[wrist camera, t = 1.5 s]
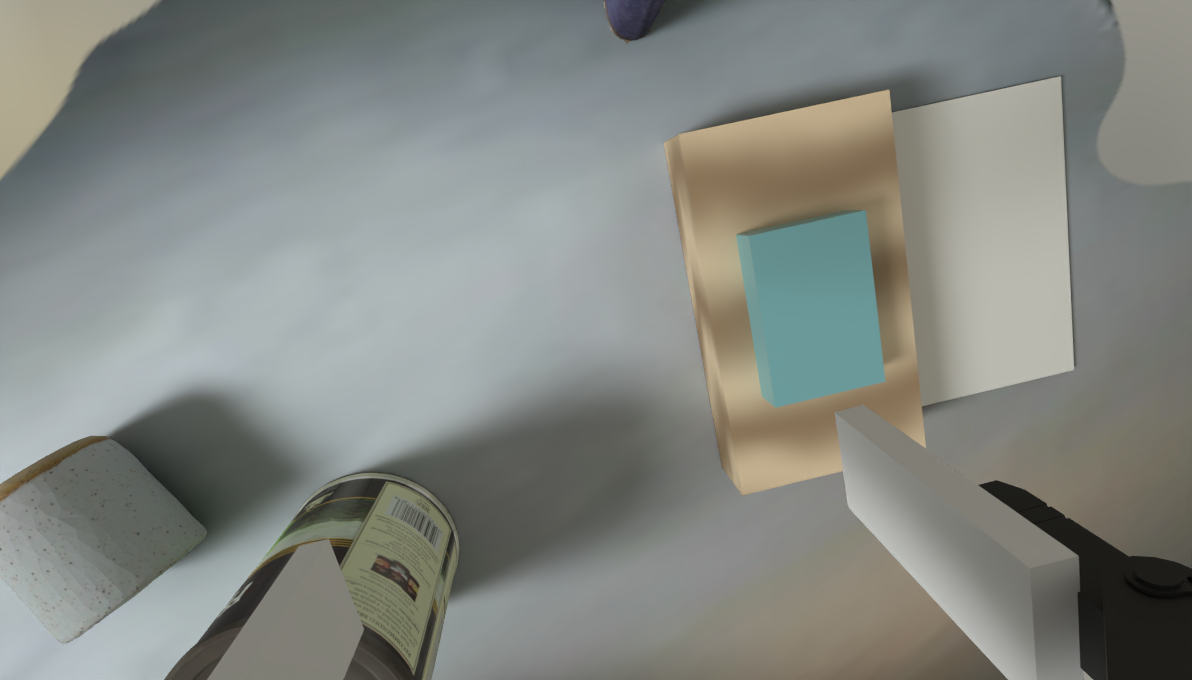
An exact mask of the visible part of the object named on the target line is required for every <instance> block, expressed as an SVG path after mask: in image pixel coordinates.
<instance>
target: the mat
mask: <svg viewBox="0 0 1192 680" xmlns="http://www.w3.org/2000/svg"><path fill="white" fill-rule="evenodd" d="M892 121H893V131H894V140H895V150H896V160H897V170H898V180H899V189H900V199H901V209H902V219H903V229H904V238H905V248H906V258H907V268H908V277H909V287H910V297H911V307H912V317H913V326H914V336H915V346H916V356H917V366H918V375H919V385H920V395H921V405H922V406H926V405H930V404H934V403H938V402H942V401H946V400H951V399H955V398H959V397H963V396H967V395H971V394H976V393H980V392H984V391H988V390H992V389H996V388H1001V387H1005V386H1009V385H1013V384H1017V383H1021V382H1026V381H1030V380H1034V379H1038V378H1042V377H1046V376H1051V375H1055V374H1059V373H1063V372H1067V371H1071V370H1074V355H1073V333H1072V311H1071V289H1070V267H1069V245H1068V223H1067V201H1066V179H1065V157H1064V135H1063V114H1062V92H1061V76H1060V77H1055V78H1050V79H1046V80H1041V81H1036V82H1032V83H1027V84H1022V85H1018V86H1013V87H1009V88H1004V89H999V90H995V91H990V92H985V93H981V94H976V95H971V96H967V97H962V98H957V99H953V100H948V101H943V102H939V103H934V104H929V105H925V106H920V107H915V108H911V109H906V110H901V111H897V112H892Z"/></svg>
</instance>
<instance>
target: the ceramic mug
mask: <svg viewBox="0 0 1192 680" xmlns="http://www.w3.org/2000/svg"><path fill="white" fill-rule="evenodd" d="M206 536H207V531H206V529H205V528H204V526H203V525H202V524H200V523H199V522H198V521H197V520H196V519H195V518H194V517H193V516H192V515H191V514H190V513H189V512H188V511H187V510H186V508H185V507H184V506H183V505H182V504H181V503H180V502H179V501H178V500H177V499H176V498H175V497H174V496H173V495H172V494H171V493H170V492H169V491H168V490H167V489H166V488H165V487H164V486H163V485H162V484H161V483H160V482H158V481H157V480H156V479H155V477H154V476H153V475H152V474H151V473H150V472H149V471H148V470H147V469H146V468H145V467H144V466H143V465H142V463H141V462H140V461H139V460H138V459H137V458H136V457H135V456H134V455H133V454H132V453H131V452H130V451H128V450H127V449H125V448H124V447H123V446H121V445H120V444H119V443H117V442H116V441H114V440H112V439H111V438H109V437H106V436H89V437H86V438H83V439H80V440H78V441H75V442H73V443H71V444H69V445H67V446H65V447H63V448H61V449H59V450H57V451H55V452H53V453H52V454H50V455H48V456H46V457H44V458H42V459H41V460H39V461H37V462H36V463H34V464H32V465H30V466H29V467H27V468H25V469H24V470H22V471H20V472H19V473H17V474H15V475H14V476H12V477H11V478H9V479H8V480H6V481H4V482H3V483H2V484H0V578H1V579H2V580H3V581H4V582H5V583H6V584H7V585H8V586H9V587H10V588H11V589H12V591H13V592H14V593H15V594H16V595H17V596H18V597H19V599H20V600H21V601H22V602H23V603H24V604H25V605H26V606H27V608H28V609H29V610H30V611H31V612H32V613H33V614H34V615H35V616H36V618H37V619H38V620H39V621H40V622H41V623H42V624H43V626H44V627H45V628H46V629H47V630H48V631H49V632H50V634H51V635H52V636H53V637H54V638H56V639H57V640H58V641H59V642H61V643H63V644H64V643H69V642H70V641H73V640H74V639H76V638H77V637H79V636H81V635H82V634H83V633H85V632H86V631H87V630H89V629H90V628H92V627H93V626H94V625H95V624H97V623H99V622H100V621H101V620H102V619H104V618H105V617H106V616H108V615H109V614H111V613H112V612H113V611H115V610H116V609H118V608H119V607H120V606H122V605H123V604H124V603H126V602H127V601H129V600H130V599H131V598H133V597H134V596H135V595H137V594H138V593H139V592H140V591H142V590H143V589H144V588H145V587H146V586H148V585H149V584H150V583H151V582H152V581H153V580H155V579H156V578H157V577H159V576H160V575H162V574H163V573H164V572H165V571H166V570H168V569H169V568H170V567H171V566H172V565H174V564H175V563H176V562H177V561H178V560H179V559H181V558H182V557H183V556H184V555H186V554H187V553H188V552H189V551H190V550H191V549H193V548H194V547H195V546H196V545H197V544H198V543H200V541H202V540H203V539H204V538H205V537H206Z"/></svg>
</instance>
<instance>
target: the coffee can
mask: <svg viewBox="0 0 1192 680" xmlns="http://www.w3.org/2000/svg"><path fill="white" fill-rule="evenodd" d="M326 539H329V541H330V544H331V546H332V549H333V551H334V554H335V556H336V559H337V561H338V564H339V567H340V569H341V572H342V574H343V577H344V579H345V582H346V584H347V587H348V589H349V592H350V595H351V597H352V600H353V602H354V605H355V607H356V610H357V612H358V615H359V617H360V620H361V623H362V625H363V628H364V631H363V633H362V636H361V638H360V641H359V643H358V646H357V648H356V650H355V653H354V655H353V658H352V660H351V662H350V665H349V667H348V670H347V672H346V675H345V677H344V679H343V680H431V679H432V674H433V670H434V665H435V660H436V656H437V651H438V647H439V642H440V638H441V633H442V629H443V623H444V619H445V614H446V609H447V604H448V600H449V595H450V591H451V586H452V581H453V577H454V575H455V572H456V570H457V567H458V559H459V539H458V534H457V530H456V527H455V525H454V522H453V520H452V518H451V516H450V514H449V513H448V511H447V509H446V508H445V507H444V506H443V505H442V503H441V502H440V501H439V500H438V499H437V498H436V497H435V496H434V495H433V494H431V493H430V492H429V491H428V490H426V489H425V488H423V487H422V486H420V485H418V484H416V483H414V482H412V481H410V480H407V479H405V478H402V477H398V476H395V475H391V474H381V473H361V474H355V475H350V476H346V477H343V478H340V479H337V480H335V481H333V482H331V483H329V484H327V485H325V486H323V487H322V488H320V489H319V490H318V491H316V492H315V493H314V494H313V495H311V496H310V497H309V498H308V499H307V501H306V502H305V503H304V504H303V505H302V507H301V508H300V509H299V511H298V512H297V514H296V516H295V518H294V519H293V520H292V522H291V523H290V524H289V526H288V527H287V528H286V530H285V531H284V532H283V534H282V535H281V536H280V537H279V539H278V540H277V541H276V543H275V544H274V545H273V547H272V548H271V549H270V551H269V552H268V553H267V554H266V556H265V557H264V558H263V560H262V561H261V562H260V563H259V565H258V566H257V567H256V568H255V570H254V571H253V572H252V573H251V575H250V576H249V577H248V579H247V580H246V581H245V583H244V584H243V585H242V586H241V588H240V589H239V590H238V591H237V592H236V594H235V595H234V596H233V598H232V599H231V600H230V601H229V603H228V604H227V605H226V607H225V608H224V609H223V610H222V612H221V613H220V614H219V615H218V617H217V618H216V619H215V620H214V622H213V623H212V624H211V626H210V627H209V628H208V630H207V631H206V632H205V634H204V635H203V636H202V637H201V639H200V640H199V641H198V643H197V644H196V645H195V646H193V647H192V648H191V649H190V650H189V651H188V652H187V653H186V654H185V655H184V656H183V657H182V658H181V659H180V660H179V661H178V662H177V664H176V665H175V666H174V667H173V669H172V670H171V671H170V672H169V674H168V675H167V676H166V678H165V679H164V680H207V679H208V677H209V676H210V675H211V673H212V672H213V670H214V669H215V667H216V666H217V664H218V663H219V661H220V660H221V659H222V657H223V656H224V654H225V653H226V651H227V650H228V648H229V647H230V645H231V644H232V643H233V641H234V640H235V638H236V637H237V635H238V634H239V632H240V631H241V630H242V628H243V627H244V625H245V624H246V622H247V621H248V619H249V618H250V616H251V615H252V614H253V612H254V611H255V609H256V608H257V606H258V605H259V603H260V602H261V600H262V599H263V598H264V596H265V595H266V593H267V592H268V590H269V589H270V587H271V586H272V584H273V583H274V582H275V580H276V579H277V577H278V576H279V574H280V573H281V571H282V570H283V568H284V567H285V566H286V564H287V563H288V561H289V560H290V558H291V557H292V555H293V554H294V552H295V551H296V550H297V548H298V547H299V546H302V545H306V544H310V543H314V542H318V541H322V540H326Z"/></svg>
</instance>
